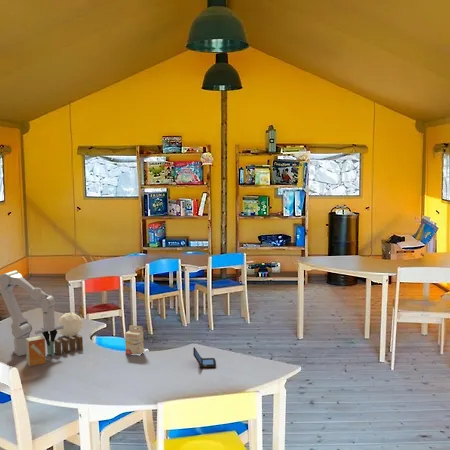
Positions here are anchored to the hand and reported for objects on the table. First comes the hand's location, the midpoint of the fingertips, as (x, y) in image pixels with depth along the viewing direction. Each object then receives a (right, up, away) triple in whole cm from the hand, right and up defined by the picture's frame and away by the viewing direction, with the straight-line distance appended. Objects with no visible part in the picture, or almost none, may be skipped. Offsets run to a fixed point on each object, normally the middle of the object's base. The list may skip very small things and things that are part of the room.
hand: (50, 344), depth 297 cm
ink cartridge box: (+44, -5, 0) cm, 45 cm away
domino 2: (+3, -5, +3) cm, 7 cm away
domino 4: (+10, -5, +8) cm, 13 cm away
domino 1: (0, -5, +1) cm, 5 cm away
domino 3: (+6, -5, +6) cm, 10 cm away
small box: (-4, -7, -11) cm, 14 cm away
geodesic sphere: (+2, -2, +33) cm, 33 cm away
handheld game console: (+81, -7, -16) cm, 83 cm away
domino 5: (+13, -4, +10) cm, 17 cm away
